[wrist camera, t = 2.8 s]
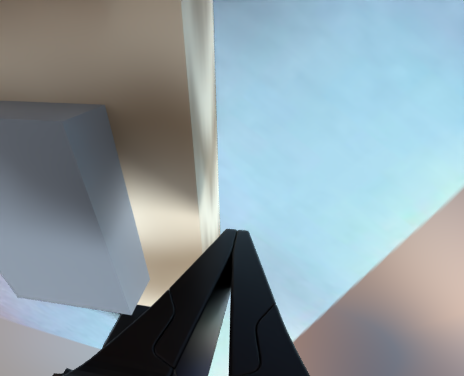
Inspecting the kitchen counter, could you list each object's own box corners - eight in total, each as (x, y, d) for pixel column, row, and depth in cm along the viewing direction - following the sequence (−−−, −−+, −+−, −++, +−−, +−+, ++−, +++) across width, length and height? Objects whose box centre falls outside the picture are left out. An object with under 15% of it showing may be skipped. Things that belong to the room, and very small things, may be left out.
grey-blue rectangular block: (150, 279, 13) (131, 315, 11) (49, 265, 14) (17, 297, 12) (104, 104, 8) (61, 121, 7) (-44, 98, 9) (-117, 112, 7)
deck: (220, 261, 17) (207, 315, 14) (67, 242, 19) (21, 287, 16) (205, -234, 7) (139, -486, 4) (-134, -186, 9) (-405, -333, 5)
